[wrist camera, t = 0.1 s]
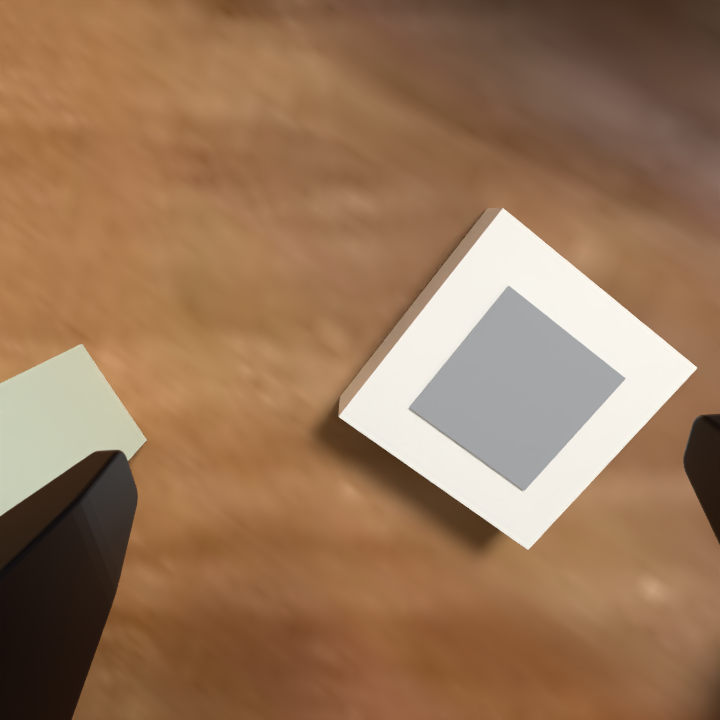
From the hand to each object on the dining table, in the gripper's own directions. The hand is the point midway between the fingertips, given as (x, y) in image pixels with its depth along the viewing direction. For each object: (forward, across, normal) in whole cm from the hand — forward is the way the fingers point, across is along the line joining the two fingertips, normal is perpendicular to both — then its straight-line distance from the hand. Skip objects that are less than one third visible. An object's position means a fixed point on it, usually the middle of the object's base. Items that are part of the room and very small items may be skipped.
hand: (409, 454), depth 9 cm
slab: (+14, -5, +7) cm, 17 cm away
